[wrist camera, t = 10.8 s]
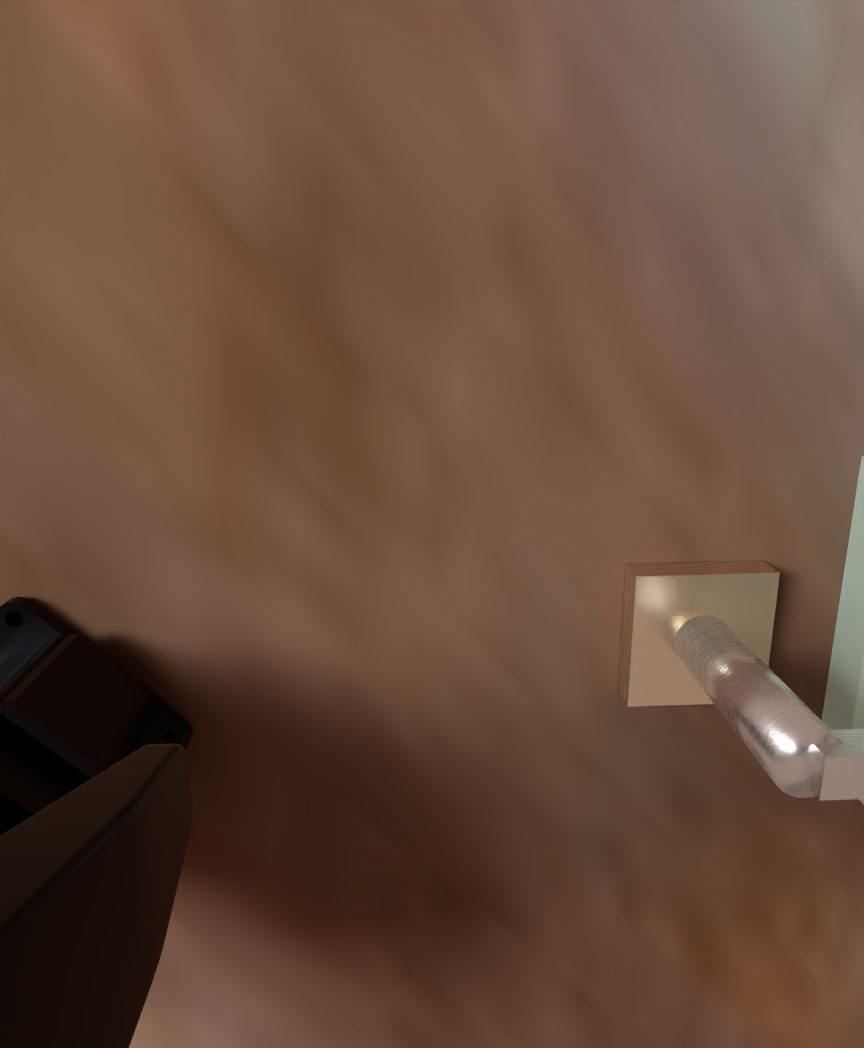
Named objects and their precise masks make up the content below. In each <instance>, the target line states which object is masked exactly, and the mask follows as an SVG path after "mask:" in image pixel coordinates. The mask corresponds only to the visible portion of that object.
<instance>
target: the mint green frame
mask: <svg viewBox="0 0 864 1048" xmlns="http://www.w3.org/2000/svg"><path fill="white" fill-rule="evenodd" d="M822 722H823V723H824V724H825V725H826V726H827V727H828V728H829V729H830V730H834V729H864V456H862V459H861V465H860V472H859V478H858V485H857V491H856V498H855V504H854V511H853V518H852V524H851V531H850V537H849V544H848V550H847V557H846V563H845V570H844V577H843V583H842V590H841V596H840V603H839V609H838V616H837V622H836V629H835V635H834V642H833V649H832V655H831V662H830V668H829V675H828V681H827V688H826V694H825V701H824V708H823V714H822ZM859 800H860V801H861V803H862V804H863V805H864V799H859Z"/></svg>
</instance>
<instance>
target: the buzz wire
mask: <svg viewBox="0 0 864 1048" xmlns="http://www.w3.org/2000/svg"><path fill="white" fill-rule="evenodd" d="M779 576H780V572H778V571H777V570H775V569H774V568H773V567H771V566H770V565H769V564H767V563H766V562H764V561H739V562H699V563H659V564H626V574H625V590H624V606H623V622H622V639H621V655H620V671H619V687H618V690H619V692H620V694H621V695H622V697H623V699H624V701H625V703H626V704H627V706H628V707H631V706H663V705H696V704H715V706H716V707H717V708H718V710H719V711H720V712H721V713H722V715H723V716H724V717H725V719H726V720H727V721H728V723H729V724H730V725H731V726H732V728H733V729H734V730H735V732H736V733H737V734H738V736H739V737H740V738H741V739H742V741H743V742H744V743H745V745H746V746H747V747H748V749H749V750H750V751H751V752H752V754H753V755H754V756H755V758H756V759H757V760H758V762H759V763H760V764H761V765H762V767H763V768H764V769H765V771H766V772H767V773H768V775H769V776H770V777H771V778H772V780H773V781H774V782H775V784H776V785H777V786H778V787H779V788H780V789H781V790H782V791H783V792H784V793H786V794H788V795H790V796H793V797H798V798H810V797H815V796H816V797H817V798H818V799H819V801H821V800H850V799H864V729H834V730H830V729H829V728H828V727H827V726H826V725H825V724H824V723H823V722H822V721H821V720H820V719H819V718H818V717H817V716H816V715H815V714H814V713H813V712H812V711H811V710H810V709H809V708H808V707H807V706H806V705H805V704H804V703H803V702H802V701H801V700H800V699H799V698H798V697H797V696H796V695H795V694H794V693H793V691H792V690H791V689H790V688H789V687H788V686H787V685H786V684H785V683H784V682H783V681H782V680H781V679H780V678H779V677H778V676H777V675H776V674H775V673H774V672H773V671H772V670H771V669H770V668H769V667H768V666H769V658H770V650H771V642H772V634H773V625H774V617H775V609H776V601H777V593H778V584H779Z"/></svg>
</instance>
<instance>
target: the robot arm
mask: <svg viewBox="0 0 864 1048" xmlns="http://www.w3.org/2000/svg"><path fill="white" fill-rule="evenodd" d="M12 611H17V612H19V613H21V615H22V616H23V619H24V622H20V621H18V620H15V618H14V617H13V616H12ZM169 731H174V732H176V733H178V734H179V735H180V736H181V738H180V739H173V738H171V737H170V736H169V735H168V732H169ZM192 736H193V729H192V726H191V725H190V723H189V722H188V721H187V720H186V719H184V718H183V717H182V716H180V715H179V714H178V713H176V712H175V711H174V710H173V709H171V708H170V707H169V706H167V705H166V704H165V703H163V702H162V701H161V700H160V699H158V698H157V697H156V696H154V695H153V694H152V693H150V692H149V691H148V688H147V686H146V685H145V684H143V683H142V682H141V681H139V680H138V679H137V678H136V677H134V676H133V675H132V674H130V673H129V672H128V671H127V670H125V669H124V668H123V667H121V666H120V665H119V664H117V663H116V662H115V661H114V660H112V659H111V658H110V657H108V656H107V655H106V654H104V653H103V652H102V651H101V650H99V649H98V648H97V647H95V646H94V645H93V644H91V643H90V642H89V641H88V640H86V639H85V638H84V637H82V636H81V635H75V634H74V633H72V632H71V631H70V630H69V629H67V628H66V627H65V626H63V625H62V624H61V623H60V622H58V621H57V620H56V619H54V618H53V617H52V616H50V615H49V614H48V613H47V612H45V611H44V610H43V609H41V608H40V607H39V606H37V605H36V604H35V603H34V602H32V601H30V600H29V599H27V598H23V597H15V598H11V599H10V600H8V601H7V602H5V603H4V604H3V605H2V606H0V1048H129V1046H130V1043H131V1040H132V1037H133V1035H134V1032H135V1029H136V1026H137V1023H138V1021H139V1018H140V1015H141V1012H142V1009H143V1006H144V1004H145V1001H146V998H147V995H148V992H149V990H150V987H151V984H152V981H153V978H154V975H155V972H156V969H157V966H158V963H159V960H160V956H161V952H162V949H163V945H164V941H165V937H166V933H167V928H168V924H169V920H170V916H171V911H172V907H173V903H174V899H175V894H176V890H177V886H178V882H179V877H180V873H181V869H182V865H183V860H184V856H185V852H186V848H187V843H188V839H189V835H190V830H191V825H192V800H191V792H190V783H189V775H188V766H187V758H186V753H185V749H186V748H187V746H188V745H189V743H190V741H191V739H192Z"/></svg>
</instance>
